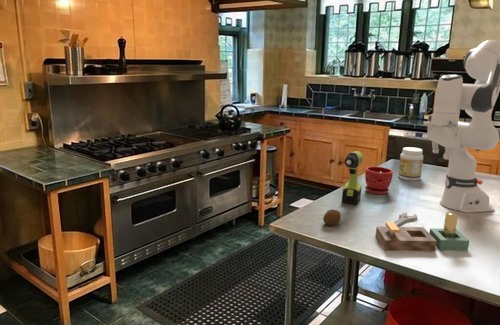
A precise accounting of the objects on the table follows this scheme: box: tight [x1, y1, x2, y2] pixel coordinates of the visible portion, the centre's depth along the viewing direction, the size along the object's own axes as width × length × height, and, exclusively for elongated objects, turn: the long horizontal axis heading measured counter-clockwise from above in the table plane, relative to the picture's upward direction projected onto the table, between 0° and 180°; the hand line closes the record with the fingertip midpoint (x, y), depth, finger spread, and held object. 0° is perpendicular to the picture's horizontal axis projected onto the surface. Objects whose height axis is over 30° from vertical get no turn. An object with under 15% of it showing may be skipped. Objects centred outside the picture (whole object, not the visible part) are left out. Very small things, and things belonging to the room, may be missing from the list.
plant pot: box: [364, 166, 394, 195], centre depth 207 cm, size 13×13×12 cm
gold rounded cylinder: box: [443, 211, 459, 238], centre depth 150 cm, size 4×4×12 cm
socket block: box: [375, 225, 437, 252], centre depth 151 cm, size 18×12×4 cm, turn 88°
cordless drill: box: [341, 150, 364, 206], centre depth 188 cm, size 23×7×25 cm, turn 155°
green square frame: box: [428, 227, 470, 252], centre depth 151 cm, size 10×10×4 cm
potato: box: [322, 208, 342, 226], centre depth 168 cm, size 7×10×6 cm
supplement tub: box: [397, 146, 424, 182], centre depth 230 cm, size 12×12×17 cm
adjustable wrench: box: [384, 212, 418, 227], centre depth 169 cm, size 25×6×2 cm, turn 129°
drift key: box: [385, 221, 400, 236], centre depth 151 cm, size 3×7×6 cm, turn 178°
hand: (440, 155), depth 154 cm, fingers open, 8 cm apart
